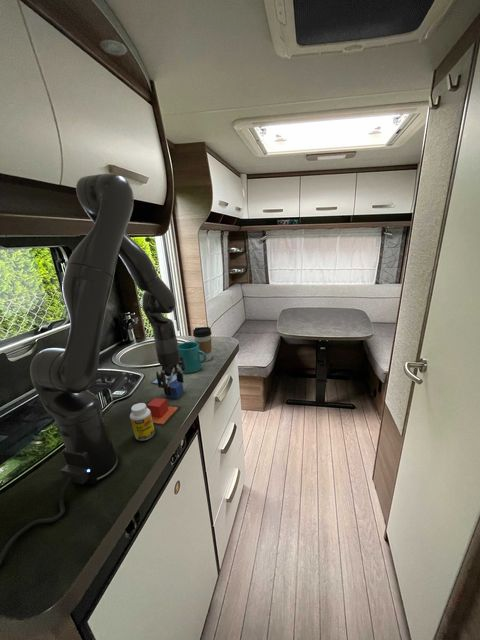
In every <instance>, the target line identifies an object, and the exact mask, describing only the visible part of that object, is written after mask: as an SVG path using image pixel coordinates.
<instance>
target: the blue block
mask: <svg viewBox="0 0 480 640" xmlns="http://www.w3.org/2000/svg"><path fill="white" fill-rule="evenodd" d="M170 388H171V393H172V394H171V395H170V396H167V395H166V399H167V398H168V399H176V400H178V399H179V398H180V397H181V396H182V395H183V394H184V385H183V383H182V382H178V381H174V382H173V381H171V382H170Z"/></svg>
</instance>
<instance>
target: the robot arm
mask: <svg viewBox="0 0 480 640" xmlns="http://www.w3.org/2000/svg"><path fill="white" fill-rule="evenodd" d="M75 191H76V196H77V199H78V201H79V204H80V206H81V207H82V209H83V210H84V212H85V213H86V214H87V216H88V217H89V218H90V220H91V221H92V223H93V226H92V227H91V229H90V230H89V231H88V233H87V234H86V235H85V237H83V238H82V240H81V241H80V242H79V243H78V244H77V246H76V247H75V248H74V249H73V251H72V253H71V254H70V256H69V258H68V259H67V260H68V261H67V263H66V267H65V271H64V274H63V279H62V285H61V286H62V296H63V299H64V304H65V306H66V310H67V313H68V316H69V321H70V322H69V326H70V327H69V334H68V337H67V342H66V346H65V348H61V347H50V348H46V349H45V348H44V349H42V350H41V351H39V352H38V353H36V354H35V356H34V357H33V359H32V360H31V363H30V369H29V372H30V373H29V374H30V377H31V378H30V379H31V382H32V384H33V387H34V389H35V391H36V393H37V396H38V397H39V400H40V402H41V403H42V406H43V407H44V410H45V411H46V412H47V413H48V414H49V415H50V416H51V417H52V418H53V420H54V423H55V425H56V427H57V430H58V432H59V435H60V438H61V440H62V442H63V445H64V449H62V450H61V451H62V455H63V457H64V460H65V462H66V465H65V466H63V467H62V468H61V469H60V473H61V476H62V477H63V480H64V481H66V482H65V483H64V484H63V486H62V488H61V490H60V493H59V502H58V506H59V510H60V511H59V513H58V514H57V515H55V516H53V517H48V518H47V517H45V518H37V519H35V520H33V521H31V522H29V523H28V524H26V525H25V526H24V527H22V528H21V529H20V530H18V531H17V532H16V533H15V534H14V535H13V536H12V537H11V538H10V539H9V540H8V541H7V543H6V544H5V545H4V546H3V549H2V550H1V552H0V567H1V566H2V563H3V561H4V559H5V557H6V555H7V553H8V551H9V550H10V548H11V547H12V545H13V544H14V543H15V542H16V541H17V539H19V537H20V536H22V535H23V534H25V532H26V531H28V530H30V529H31V528H32V527H34V526H36V525H40V524H50V523H53V522H56V521H58V520H59V519H61V517H63V516H64V514H65V512H66V507H65V494H66V492H67V490H68V488H69V486H70V484H71V483H75V484H80V485H84V484H88V485H92V486H94V485H96V484H97V482H99V481H101V480H104V479H105V478H107V477H109V476H110V475H111V474H112V473H113V472H114V471H115V470H116V469H117V467H118V464H119V459H118V456H117V454H116V450H115V448H114V444H113V440H112V437H111V435H110V432H109V429H108V425H107V422H106V419H105V418H106V417H105V416H104V415H105V414H104V412H103V409H102V405H101V402H100V399H99V398H98V396H97V395H96V394H95V393H92V391H90V390H88V389H90V388H91V386H92V385H93V383H94V382H95V379H96V377H97V373H98V370H99V362H100V355H101V345H102V343H101V342H102V335H103V329H104V323H105V318H106V312H107V307H108V302H109V299H110V295H111V292H112V287H113V282H114V277H115V272H116V266H117V263H118V258H119V257H120V259H121V261H122V263H123V265H124V266H125V267H126V269H127V271H128V273H129V274H130V277H131V278H132V280H133V282H134V285H136V287H137V288H138V289H139V290H140V291H143V292H144V293H143V294H142V296H141V300H140V301H141V302H140V303H141V308H142V311H143V313H144V315H145V317H146V318H147V320H148V323H149V324H150V326H151V328H152V336H153V340H154V348H155V353H156V358H157V362H158V364H159V365H160V366H161V370H159V371H156V373H155V375H156V379H157V382H158V384H157V387H158V388H159V389H163V392H164V395H165V396H166V397H167V396H170V395H171V394H172V393H171V388H170V381H171V380H172V378H173V376H174V374H175V375H176V376H177V379H176V382H182V384H183V383H184V382H185V381H184V372H183V371H184V370H185V364H184V359H183V356H180V353H179V347H178V345H179V341H178V338H177V334H176V329H175V323H174V321H173V319H170V318H168V317H166V316H164V315H163V314H171V313H173V312H174V311H175V309H176V306H177V305H176V303H177V301H176V298H175V295H174V293H173V291H171V289H170V288H169V286H168V285H167V284H166V283H165V282H164V280H163V279H161V277H160V276H159V273H158V271H157V270H156V268H155V265H154V263H153V261H152V260H151V258H150V256H149V255H148V253H146V251H145V250H144V249H143V248H142V247H141V246H140V245H139V244H138V243H137V242H135V240H133V239H132V238H131V237H130V236H129V234H128V233H127V232H126V231H127V228H128V226H129V222H130V221H131V217H132V214H133V211H134V202H135V198H134V197H135V196H134V192H133V188H132V186H131V184H130V182H129V181H128V180H127V179H126V178H125V177H124V176H122V175H120V174H117V173H100V174H91V175H84V176H82V177H80V178H79V179H78V180H77V183H76V185H75ZM180 365H182V367H181V366H180ZM165 376H169V378H166V377H165ZM166 380H168V381H167V383H166ZM161 382H162V384H161Z"/></svg>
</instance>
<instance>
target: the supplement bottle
mask: <svg viewBox="0 0 480 640" xmlns="http://www.w3.org/2000/svg"><path fill="white" fill-rule="evenodd" d="M130 411H131V412H130V414H129V419H130V423H131V426H132V430H133V435H134V438H135V439H136V440H137V441H141V442H142V441H147V440H149V439H152V438H153V436H154V435H155V433H156V431H155V430H156V429H155V426H154V423H153V421H152V416H151V411H150V409H148V407H147V404H146V403H144V402H138V403H135V404H133V405H131V408H130Z"/></svg>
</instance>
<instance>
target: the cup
mask: <svg viewBox="0 0 480 640" xmlns="http://www.w3.org/2000/svg"><path fill="white" fill-rule="evenodd" d="M178 347H179V353H180V356H183V359H184V364H185V370H184V371H183V374H193V373H197V372H199V371H200V370H201V369H202V364H204V363H205V362H207V361H206V358H207V357H206V354H205V353H204V352H203V351H201V350H199V344H198V343H196V342H195V341H184V342H182V343H181V342H180V343H178ZM200 353H201V354H203V355H204V360H202V361H201V359H200ZM180 366H181V367H182V365H180Z"/></svg>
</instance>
